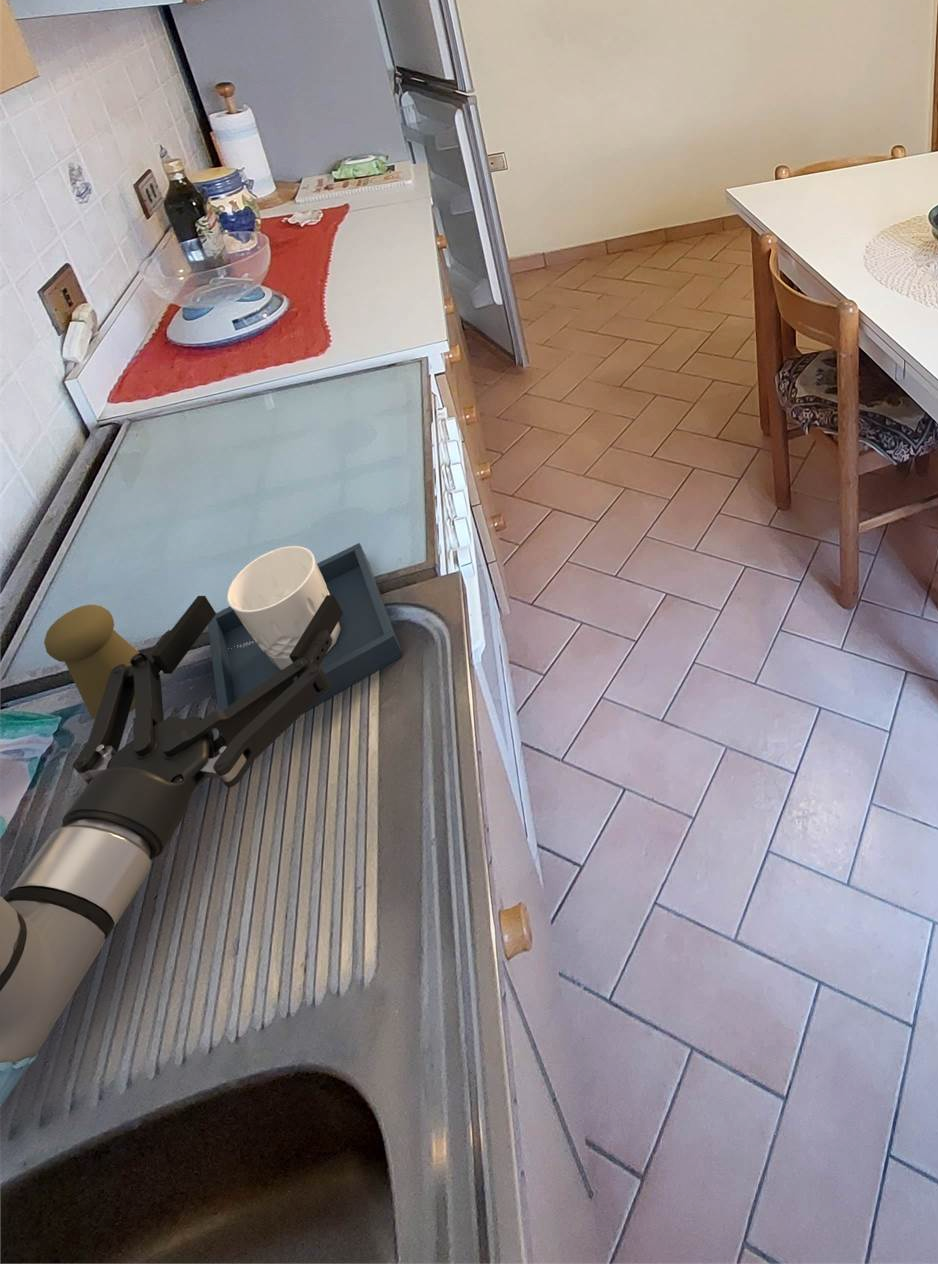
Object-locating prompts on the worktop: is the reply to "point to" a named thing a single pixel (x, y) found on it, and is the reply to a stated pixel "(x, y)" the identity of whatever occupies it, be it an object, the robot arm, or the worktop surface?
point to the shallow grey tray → (346, 663)
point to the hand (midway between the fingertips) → (270, 604)
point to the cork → (89, 650)
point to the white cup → (279, 600)
